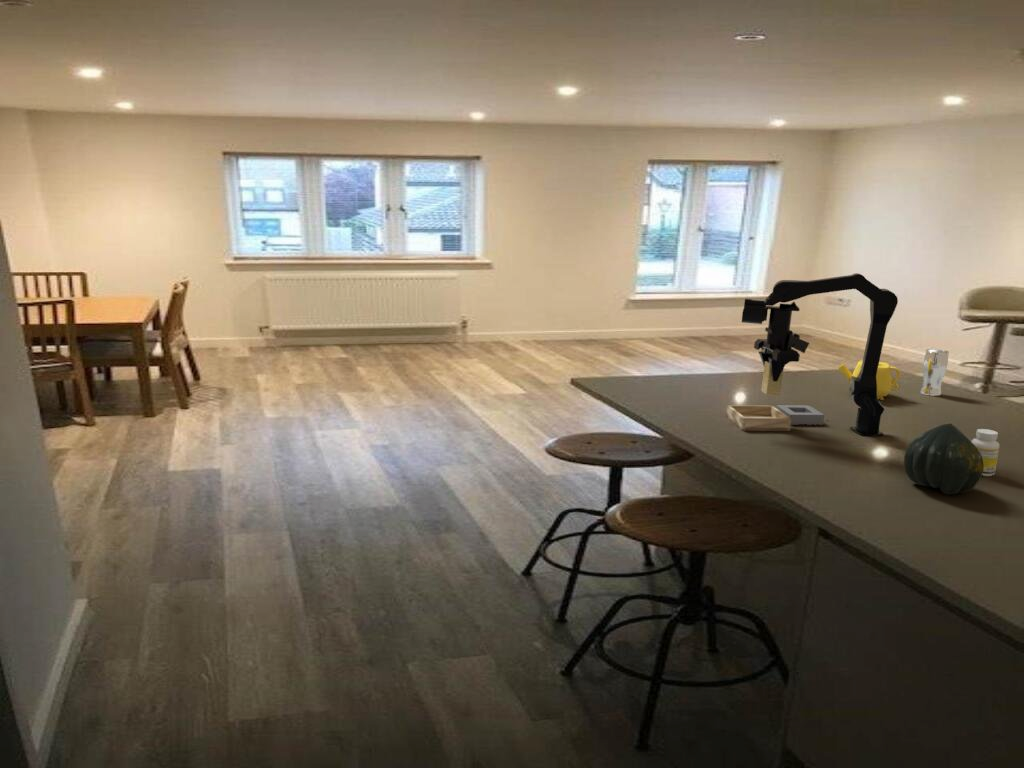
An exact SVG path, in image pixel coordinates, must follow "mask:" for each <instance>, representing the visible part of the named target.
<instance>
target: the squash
mask: <svg viewBox="0 0 1024 768" xmlns="http://www.w3.org/2000/svg"><path fill="white" fill-rule="evenodd" d="M971 441H972V440H970V439H969V438H968V437H967V436H966V435H965V434H964V433H963V432H962V431H961V430H960V429H959V428H958V427H956V426H955V425H954V424H953V423H945V424H941V425H938V426H936V427H934V428H931V429H929V430H926V431H924V432H923V433H921V434H920V435H918V436H917V437H915V438H914V439H913V441H911V443H910V444H909V445H908V447H907V448H906V450H905V452H904V456H903V465H904V471H905V473H906V475H907V477H908V479H909V480H910V481H911V482H913V483H914V484H916V485H918V486H921V485H922V486H923V487H924V486H925V487H932V488H937V489H938V488H939V489H940V491H941V492H942V493H943V494H945V495H955V494H957V493H958V494H959V493H967V492H968V491H970V490H972V489H973V488H975V487H976V485H977V484H978V482H979V481H980V480H981V478H982V477H983V476H982V473H983V468H984V465H983V458H982V456H981V454H980V452H979V451H978V449H977V448H976V446H975V445H974V444H973V443H972V442H971Z"/></svg>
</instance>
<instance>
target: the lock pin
mask: <svg viewBox="0 0 1024 768" xmlns="http://www.w3.org/2000/svg"><path fill="white" fill-rule="evenodd" d="M784 369H785V367H784V368H783V370H782V372H781V374H780V377H779V379H778V381H773V378H772V374H771V368H770V363H769V361H765V365H763V375H762V380H761V381H762V383H761V388H760V389H761V392H762V393H764V394H765V395H766V396H768V395H770V396H773V395H774V396H780V395H781V393H782V391H781V390H782V383H783V376H784Z"/></svg>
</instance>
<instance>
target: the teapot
mask: <svg viewBox="0 0 1024 768" xmlns="http://www.w3.org/2000/svg"><path fill="white" fill-rule="evenodd" d="M862 362H863V360H859V361H858V362H857V364H856V366H855V368H854V370H853V373H852V372H851V370H850V369H849V368H848V367H847V366H846V365H845V364H844V363H843V364H841V365H840V366H839V365H838V367H837V370H838V371H839V372H841V374H842V375H843V376H844V377H845V378H846V379H847V380H848V381H849V382H850V384H851V383H852V376H854V377H857V376H858V375H859V373H860V371H861V366H862ZM892 370H893V371H896V376H895V377H894V379H893V376H892ZM900 376H901V371H900V369H899V368H897V367H895V366H890V364H889V363H888V362H883V361H879V365H878V369H877V374H876V380H877V399H880V400H879V401H884V400H885V398H884V397H887V396H888V395H889V394H890V392H891V391H896V390H898V388H899V385H898V383H897V381H898V380H899V378H900ZM894 386H895V387H894Z"/></svg>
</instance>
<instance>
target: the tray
mask: <svg viewBox="0 0 1024 768" xmlns="http://www.w3.org/2000/svg"><path fill="white" fill-rule="evenodd" d="M725 417H726V418H727V420H729V421H731V422H732V424H734V425H735V426H736V427H737V428H738V429H740V430H741V431H754V432H755V431H763V432H764V431H765V432H767V431H771V432H772V431H773V432H774V431H775V432H777V431H778V432H780V431H781V432H782V431H784V432H785V431H787V432H788V431H789V432H790V431H791V426H792V425H791V418H790V417H788V416H787V415H785V414H784V413H782V412H781V411H779V410H778V409H776V406H773V405H750V404H749V405H745V404H743V405H734V404H729V405H726V412H725Z"/></svg>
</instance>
